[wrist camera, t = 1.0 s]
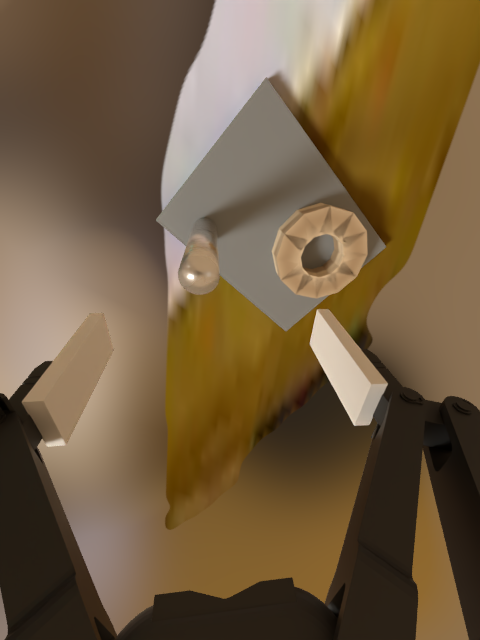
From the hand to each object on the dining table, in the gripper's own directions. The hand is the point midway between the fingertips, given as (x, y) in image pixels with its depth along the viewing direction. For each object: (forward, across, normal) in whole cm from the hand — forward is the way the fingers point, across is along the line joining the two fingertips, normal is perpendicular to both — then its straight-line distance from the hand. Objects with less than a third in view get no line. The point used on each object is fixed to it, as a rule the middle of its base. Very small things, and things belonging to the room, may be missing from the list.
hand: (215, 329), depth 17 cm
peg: (+19, -1, +2) cm, 19 cm away
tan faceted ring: (+19, +13, 0) cm, 23 cm away
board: (+21, +8, +1) cm, 22 cm away
